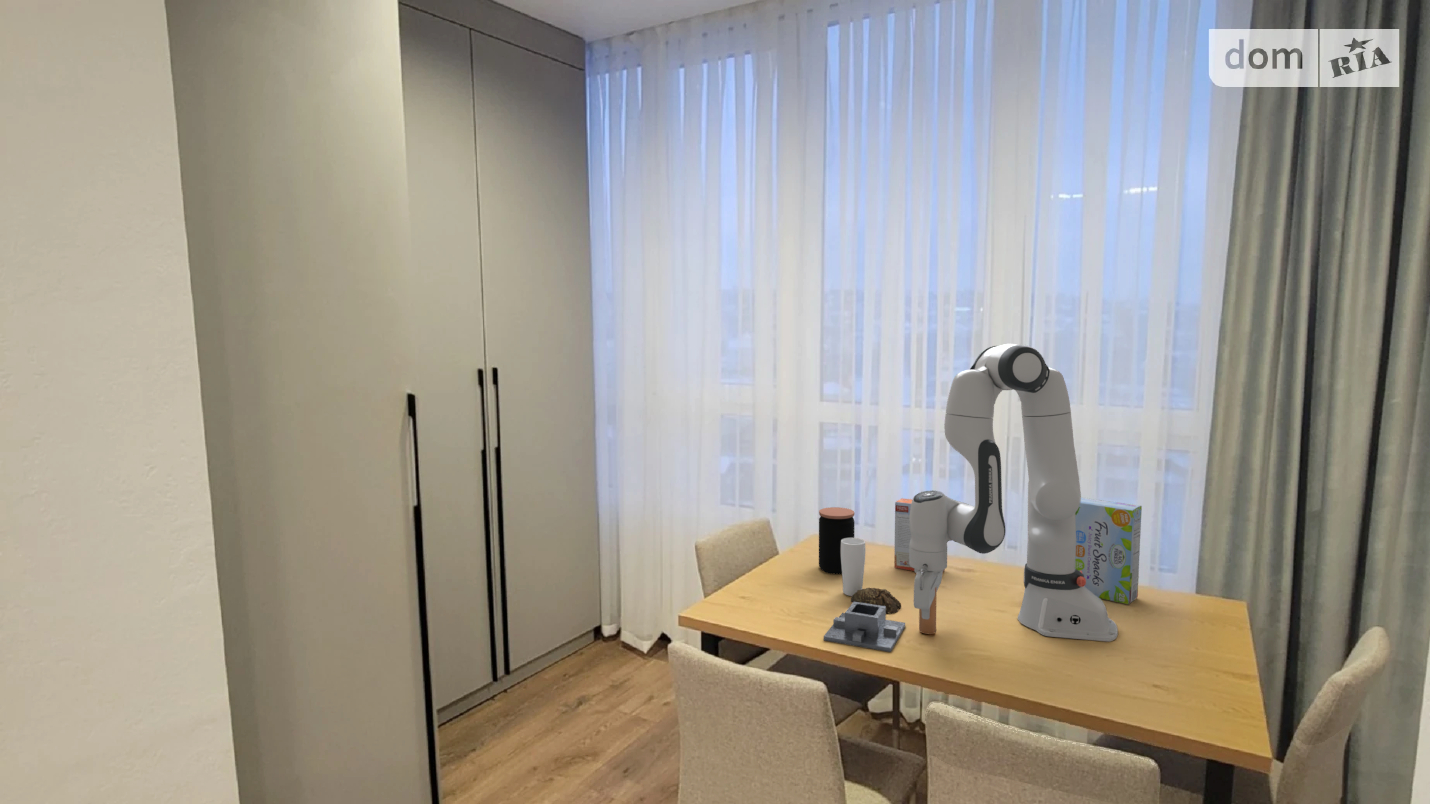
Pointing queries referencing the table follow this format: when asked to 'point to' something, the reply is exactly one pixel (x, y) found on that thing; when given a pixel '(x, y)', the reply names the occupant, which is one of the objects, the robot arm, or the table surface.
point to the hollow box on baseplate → (865, 628)
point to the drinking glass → (852, 564)
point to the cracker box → (902, 534)
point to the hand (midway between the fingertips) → (927, 614)
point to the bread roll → (877, 598)
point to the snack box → (1109, 548)
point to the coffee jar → (833, 536)
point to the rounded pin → (929, 624)
